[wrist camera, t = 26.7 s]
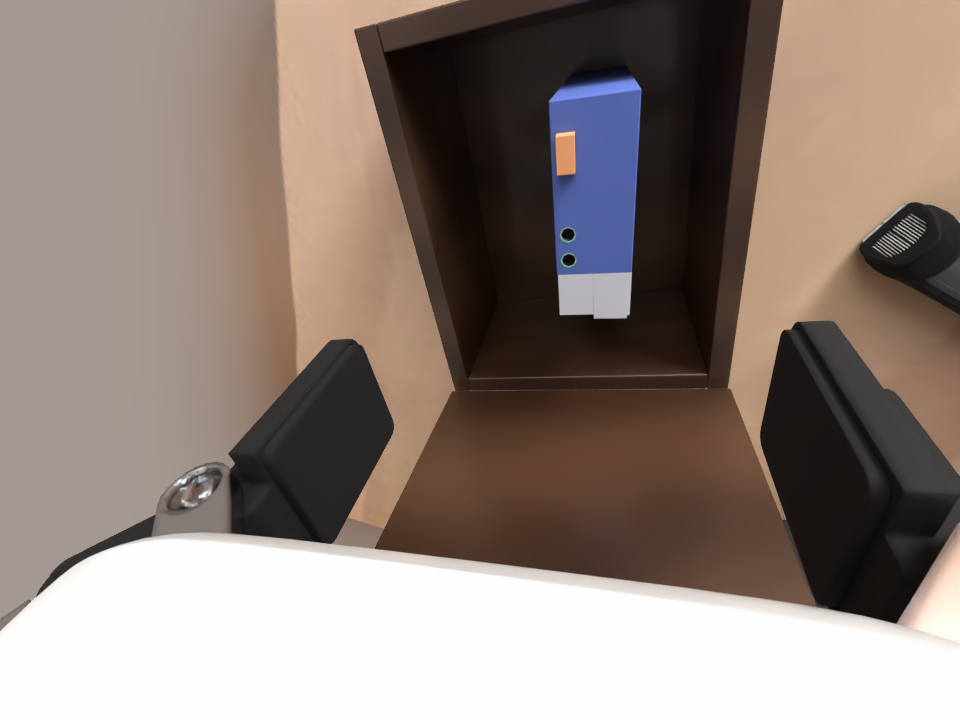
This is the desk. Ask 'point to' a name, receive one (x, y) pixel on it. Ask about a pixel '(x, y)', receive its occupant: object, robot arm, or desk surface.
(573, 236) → the walkman
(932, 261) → the electric trimmer
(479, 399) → the lid
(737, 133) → the brown hollow rectangular box
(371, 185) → the desk surface
